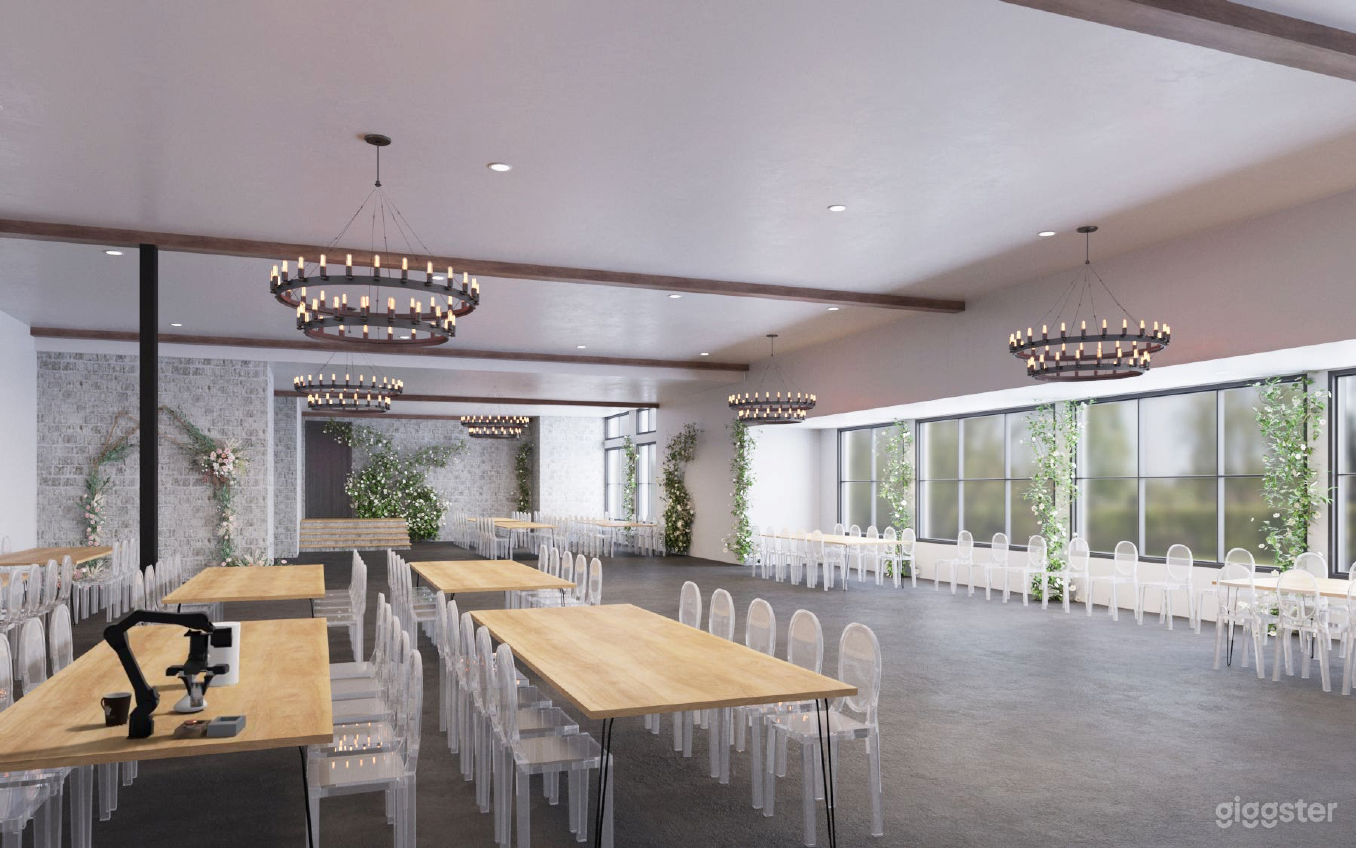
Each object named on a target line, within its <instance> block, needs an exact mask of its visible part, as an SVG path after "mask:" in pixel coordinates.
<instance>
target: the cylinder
mask: <svg viewBox="0 0 1356 848" xmlns="http://www.w3.org/2000/svg"><path fill="white" fill-rule="evenodd" d="M211 623H212V622H211ZM212 624H213V625H214V626H215V628H227V627H232V636H233V640H232V647H227V648H214V646H212V645H210V637H211V636H209V640H208V650H209V656H210V658H208V659H209V660H208V666H207V667H213V666H215V665H216V664H228V665H229V672H228V673H226V674H223V675H216V676H214V677H213V678H212V680H211V682H210V684H209V686H208V687H210V688H211V687H213V688H214V687H215V688H216V687H218V688H220V687H227V686H226V685H230V686H234V685H236V683H237V684H238V683H239V676H240V675H239V673H240V653H241V651H240V650H241V648H240V647H241V629H242V627H241V626H242V625H241V624H242V623H241V622H239V621H221V622H213V623H212Z"/></svg>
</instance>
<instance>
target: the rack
mask: <svg viewBox="0 0 1356 848" xmlns="http://www.w3.org/2000/svg"><path fill="white" fill-rule="evenodd" d="M246 722H247V715H244V714H243V715H222V716H221V715H219V716H216V718H214V719H212V722H210V723H209V724H208V725H207V732H206V738H220V737H221V738H222V737H223V738H224V737H237V736H238V735H239V734H240V733H241V732H242V731H243V730H244V729H245V728H246V727H247V725H246V724H247V723H246ZM245 726H246V727H245ZM244 727H245V728H244ZM243 728H244V729H243ZM242 729H243V730H242ZM241 730H242V731H241ZM240 731H241V732H240ZM239 732H240V733H239ZM238 733H239V734H238ZM237 734H238V735H237Z"/></svg>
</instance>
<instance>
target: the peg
mask: <svg viewBox="0 0 1356 848" xmlns="http://www.w3.org/2000/svg"><path fill="white" fill-rule="evenodd" d="M203 685H204V680H196V681H195V682H191V692H190V707H192V708H196V707H202V706H203V700H204V696H203Z"/></svg>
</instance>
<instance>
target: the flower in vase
mask: <svg viewBox="0 0 1356 848" xmlns="http://www.w3.org/2000/svg"><path fill="white" fill-rule="evenodd" d="M208 658H210V656H209V654H208ZM208 660H209V659H208ZM198 676H199V674H198V675H192V682H195V681H197V678H198ZM207 707H208V703H207V701H206V700H205V699H203V706H202V707H196V708H192V707H190V696H189V695H188V692H186V693H185V695H184V696H183V697H181V698H180V699H179V700H178V701H177V702H176V703H175V704H174V705H173V707H172V709H173V711H175V712H179V713H193V712H198V711H201V710H204V709H205V708H207Z"/></svg>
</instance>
